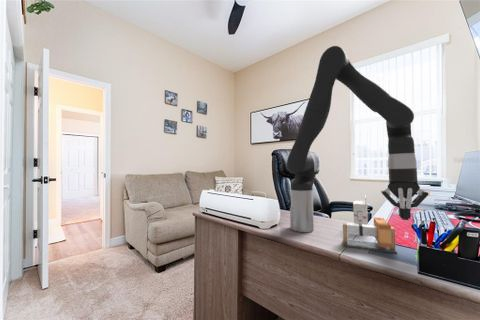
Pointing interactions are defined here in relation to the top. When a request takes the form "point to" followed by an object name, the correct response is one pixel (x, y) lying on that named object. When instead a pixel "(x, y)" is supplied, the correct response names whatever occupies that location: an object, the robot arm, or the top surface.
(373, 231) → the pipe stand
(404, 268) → the top surface
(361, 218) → the ink cartridge box
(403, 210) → the robot arm
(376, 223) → the tan cardboard carton
